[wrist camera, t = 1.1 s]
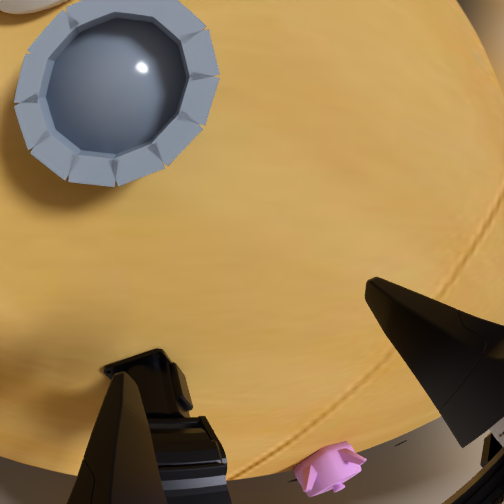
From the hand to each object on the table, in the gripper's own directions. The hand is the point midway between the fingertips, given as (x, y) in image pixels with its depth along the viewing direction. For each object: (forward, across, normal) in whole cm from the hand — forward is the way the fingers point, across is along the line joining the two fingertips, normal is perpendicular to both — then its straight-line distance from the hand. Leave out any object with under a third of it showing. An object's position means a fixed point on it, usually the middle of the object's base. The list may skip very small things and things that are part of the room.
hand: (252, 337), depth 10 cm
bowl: (+13, +3, -9) cm, 16 cm away
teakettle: (+11, -9, +75) cm, 76 cm away
